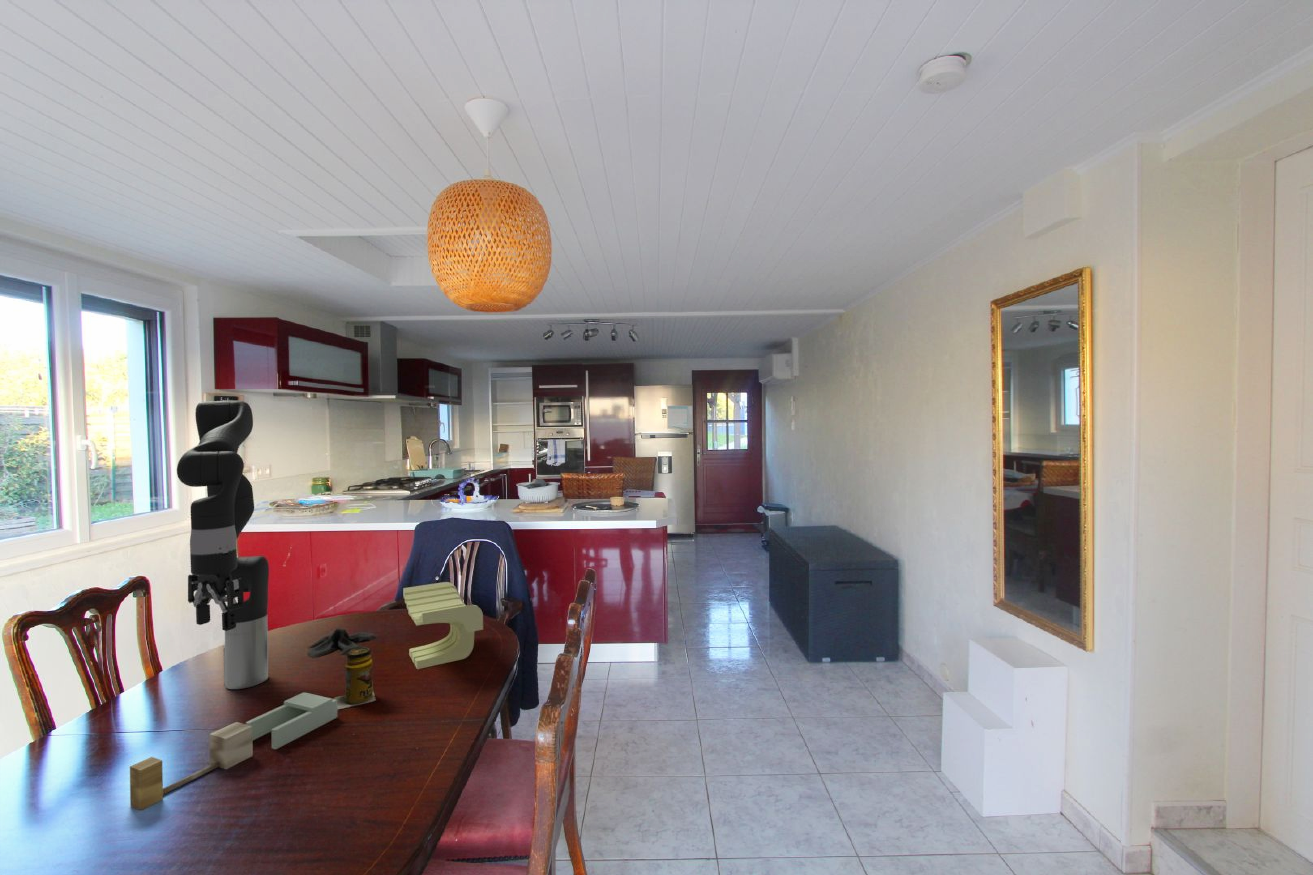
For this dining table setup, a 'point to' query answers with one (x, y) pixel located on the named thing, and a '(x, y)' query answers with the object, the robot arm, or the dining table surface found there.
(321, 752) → the dining table surface
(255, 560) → the robot arm
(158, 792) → the tethered block
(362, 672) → the condiment
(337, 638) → the cloth
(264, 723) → the u-shaped sage bracket
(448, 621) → the slatted curved stool
